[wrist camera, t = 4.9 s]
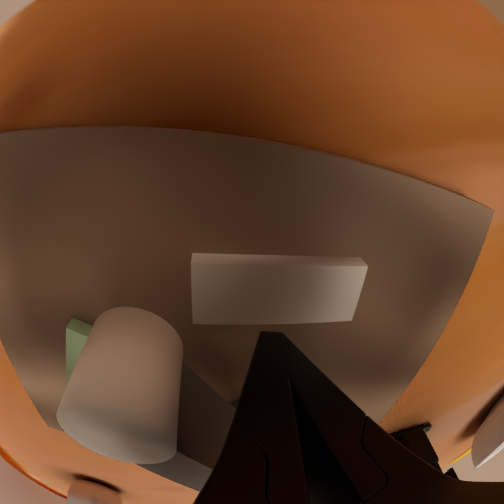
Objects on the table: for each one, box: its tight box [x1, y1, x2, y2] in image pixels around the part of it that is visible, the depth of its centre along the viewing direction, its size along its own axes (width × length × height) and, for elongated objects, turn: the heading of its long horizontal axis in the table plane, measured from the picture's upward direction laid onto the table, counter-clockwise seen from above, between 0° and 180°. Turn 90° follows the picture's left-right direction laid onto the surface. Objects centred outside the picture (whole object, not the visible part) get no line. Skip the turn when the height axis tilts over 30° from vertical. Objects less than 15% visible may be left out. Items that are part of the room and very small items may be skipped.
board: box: [0, 125, 494, 432], centre depth 11 cm, size 16×20×3 cm
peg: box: [56, 307, 238, 491], centre depth 8 cm, size 10×4×4 cm, turn 29°
